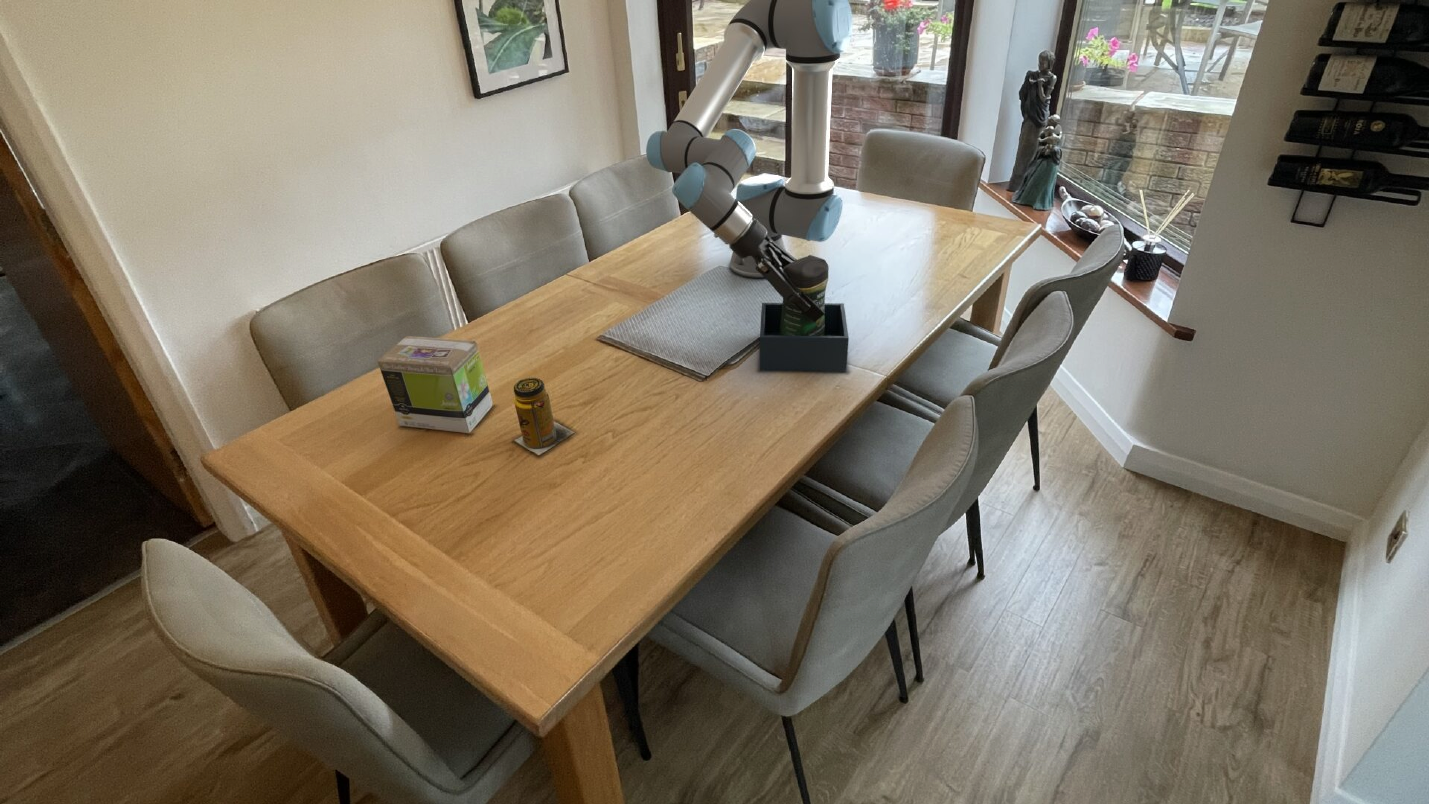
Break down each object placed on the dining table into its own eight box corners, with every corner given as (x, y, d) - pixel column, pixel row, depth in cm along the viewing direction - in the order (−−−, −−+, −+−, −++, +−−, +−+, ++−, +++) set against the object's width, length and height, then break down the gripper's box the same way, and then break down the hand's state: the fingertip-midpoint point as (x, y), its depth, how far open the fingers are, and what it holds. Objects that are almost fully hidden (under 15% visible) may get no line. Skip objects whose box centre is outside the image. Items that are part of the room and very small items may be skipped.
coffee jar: (803, 358, 149) (807, 274, 138) (773, 346, 153) (774, 264, 143) (830, 340, 155) (836, 258, 144) (800, 328, 159) (803, 248, 149)
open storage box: (761, 335, 162) (761, 302, 158) (841, 335, 161) (843, 303, 156) (759, 371, 150) (759, 337, 146) (846, 372, 149) (848, 338, 144)
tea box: (494, 405, 143) (478, 339, 135) (469, 435, 135) (450, 367, 127) (426, 397, 146) (406, 333, 138) (397, 427, 138) (374, 360, 130)
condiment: (513, 441, 133) (500, 386, 126) (549, 419, 138) (539, 365, 132) (539, 456, 129) (526, 400, 122) (575, 433, 135) (565, 378, 128)
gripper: (731, 223, 152) (804, 292, 160) (723, 268, 134) (806, 343, 141) (756, 198, 149) (830, 270, 156) (752, 240, 130) (835, 319, 138)
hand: (818, 305), depth 149 cm, fingers closed on coffee jar, 10 cm apart
